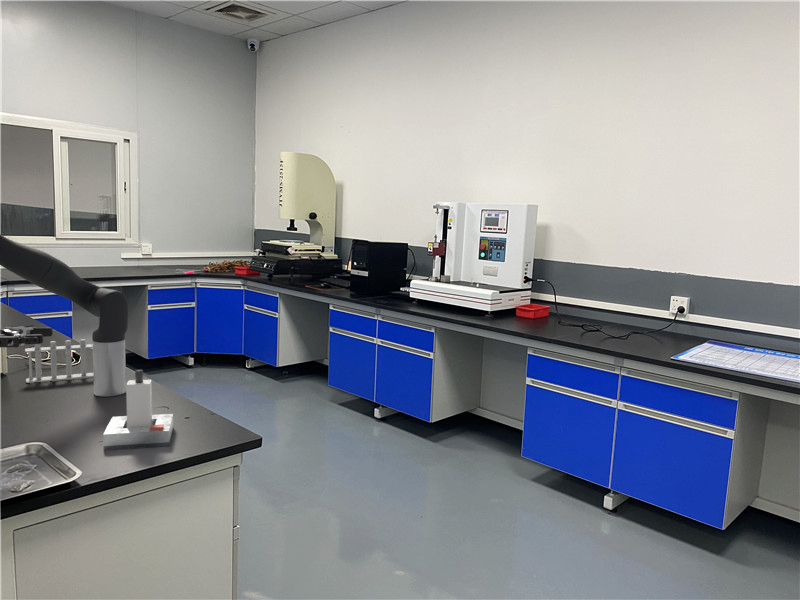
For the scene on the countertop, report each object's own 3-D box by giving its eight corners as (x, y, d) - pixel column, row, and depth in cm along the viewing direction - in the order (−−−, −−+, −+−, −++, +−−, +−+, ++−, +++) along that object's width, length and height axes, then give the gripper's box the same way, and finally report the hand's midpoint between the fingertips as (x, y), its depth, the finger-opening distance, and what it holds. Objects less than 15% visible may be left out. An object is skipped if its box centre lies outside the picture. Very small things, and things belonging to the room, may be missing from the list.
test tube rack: (108, 373, 212) (108, 336, 210) (110, 376, 208) (109, 339, 206) (26, 380, 198) (24, 342, 196) (26, 384, 195) (24, 344, 193)
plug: (129, 432, 154) (128, 369, 152) (152, 431, 156) (151, 368, 154) (127, 438, 151) (126, 373, 148) (150, 436, 152) (149, 372, 150)
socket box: (112, 431, 157) (112, 413, 157) (173, 427, 162) (173, 411, 161) (103, 450, 145) (103, 431, 145) (169, 446, 149) (168, 427, 149)
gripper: (-42, 327, 136) (38, 326, 141) (-19, 316, 150) (54, 315, 154) (-39, 359, 137) (40, 357, 142) (-17, 345, 151) (55, 343, 156)
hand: (47, 335), depth 148 cm, fingers open, 8 cm apart
